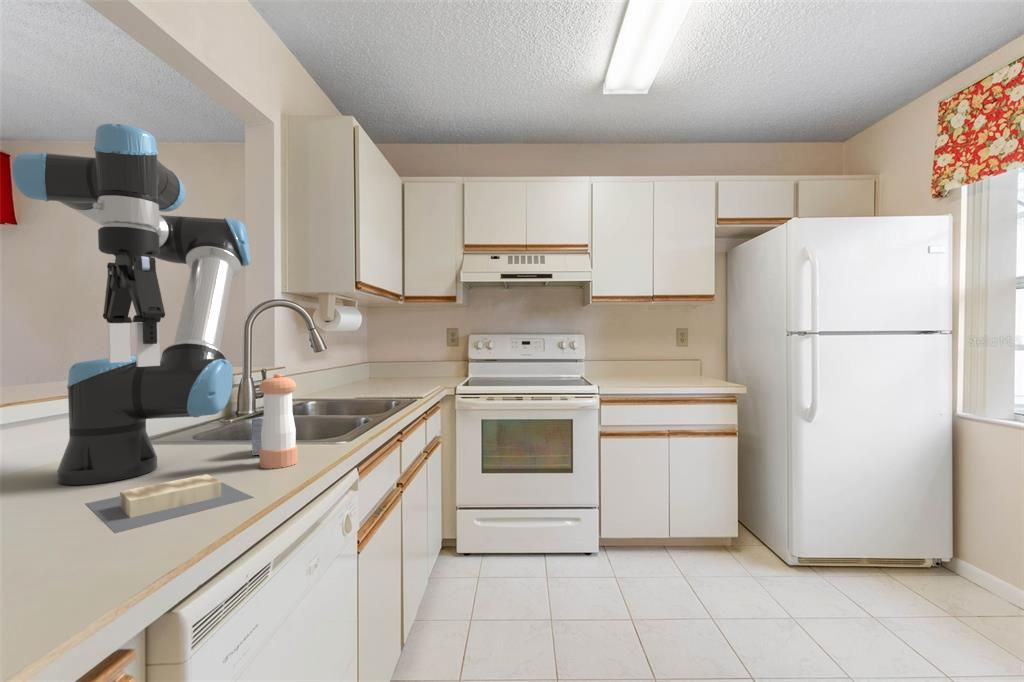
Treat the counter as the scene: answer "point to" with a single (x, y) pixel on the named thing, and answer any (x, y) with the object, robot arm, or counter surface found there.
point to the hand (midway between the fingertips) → (133, 364)
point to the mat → (121, 521)
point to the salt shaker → (278, 423)
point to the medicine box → (256, 435)
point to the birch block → (169, 495)
